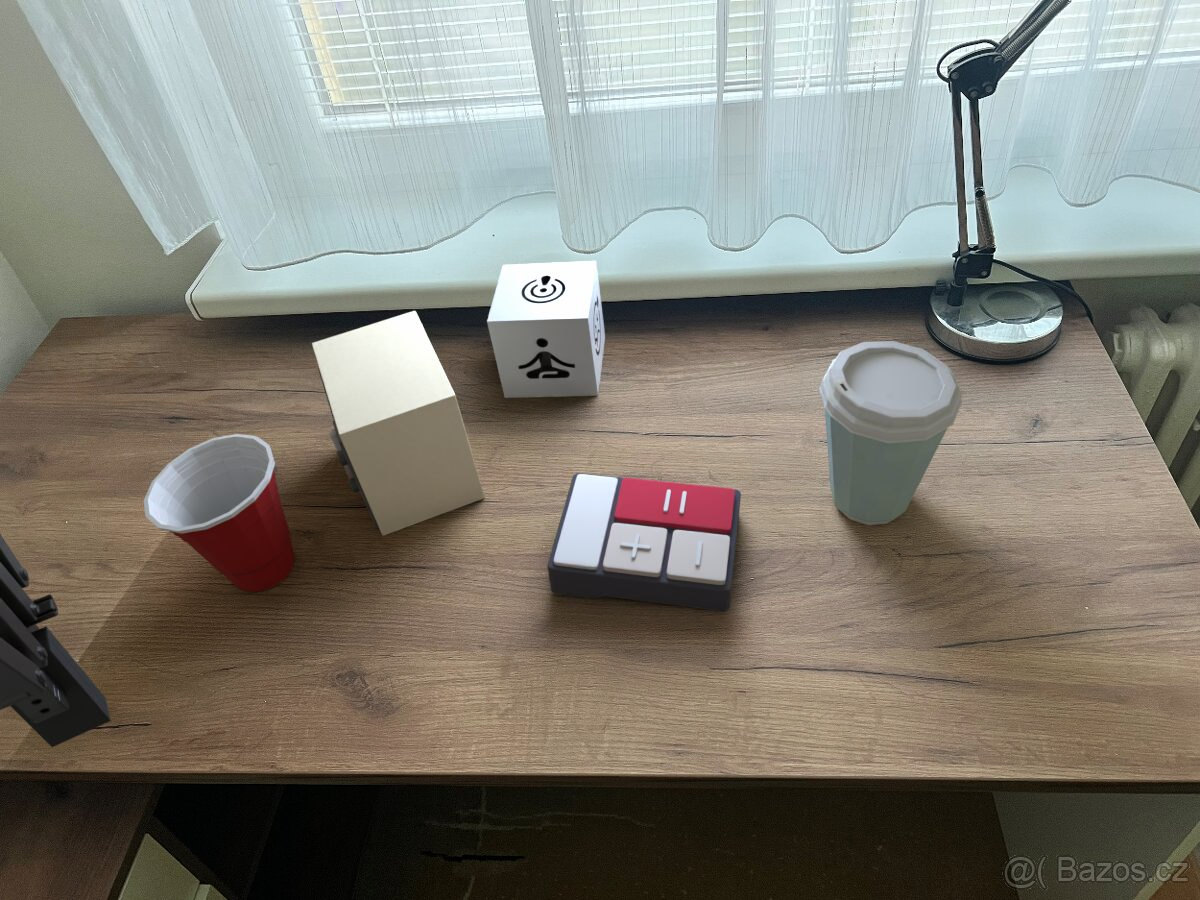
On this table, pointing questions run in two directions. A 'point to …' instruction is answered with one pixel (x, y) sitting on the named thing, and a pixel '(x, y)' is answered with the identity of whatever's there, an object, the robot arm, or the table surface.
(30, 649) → the robot arm
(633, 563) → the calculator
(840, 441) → the disposable coffee cup
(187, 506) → the plastic cup
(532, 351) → the icon cube
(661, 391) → the table surface
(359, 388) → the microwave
